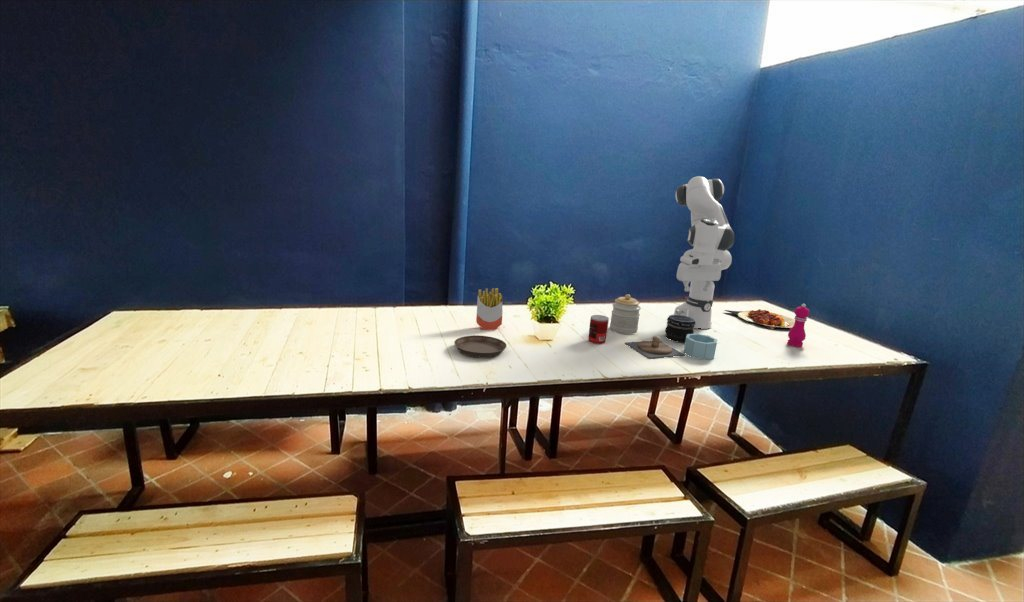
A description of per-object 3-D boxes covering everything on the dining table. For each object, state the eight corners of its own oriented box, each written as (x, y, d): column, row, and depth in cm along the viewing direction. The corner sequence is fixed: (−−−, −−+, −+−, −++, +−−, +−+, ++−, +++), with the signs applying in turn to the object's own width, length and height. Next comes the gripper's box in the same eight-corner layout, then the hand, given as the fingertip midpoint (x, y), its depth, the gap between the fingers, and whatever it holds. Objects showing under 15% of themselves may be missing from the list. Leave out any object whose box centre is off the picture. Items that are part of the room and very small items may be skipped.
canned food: (607, 340, 229) (610, 316, 226) (603, 345, 222) (606, 321, 219) (591, 337, 232) (593, 313, 229) (585, 342, 225) (588, 317, 222)
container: (678, 333, 247) (682, 313, 244) (698, 342, 236) (702, 321, 233) (658, 335, 241) (661, 314, 239) (677, 344, 230) (681, 323, 228)
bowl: (678, 349, 223) (680, 334, 222) (700, 348, 228) (703, 333, 226) (696, 360, 212) (699, 344, 211) (720, 358, 217) (723, 342, 215)
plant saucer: (471, 338, 219) (472, 331, 218) (515, 349, 210) (515, 341, 210) (443, 352, 202) (443, 344, 201) (489, 365, 193) (489, 356, 192)
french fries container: (501, 329, 233) (504, 290, 228) (478, 330, 230) (480, 290, 225) (499, 326, 237) (501, 288, 232) (475, 326, 234) (478, 288, 229)
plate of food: (720, 310, 294) (723, 298, 292) (782, 317, 293) (785, 305, 291) (741, 328, 264) (745, 315, 262) (810, 336, 263) (814, 323, 261)
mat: (624, 343, 226) (624, 342, 226) (659, 341, 233) (659, 340, 232) (648, 358, 210) (649, 357, 210) (685, 356, 216) (685, 354, 216)
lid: (631, 344, 225) (632, 333, 223) (658, 342, 230) (659, 331, 229) (650, 355, 212) (652, 344, 211) (678, 353, 217) (680, 342, 216)
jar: (628, 325, 253) (633, 290, 248) (642, 334, 241) (647, 297, 237) (604, 326, 249) (608, 290, 244) (618, 335, 237) (622, 298, 232)
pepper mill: (805, 348, 238) (815, 306, 233) (788, 346, 239) (798, 304, 234) (800, 343, 245) (809, 302, 240) (784, 341, 246) (793, 300, 241)
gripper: (717, 257, 221) (710, 288, 225) (677, 257, 214) (671, 289, 218) (727, 260, 215) (721, 292, 219) (687, 260, 208) (681, 293, 212)
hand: (696, 290), depth 218 cm, fingers open, 8 cm apart
